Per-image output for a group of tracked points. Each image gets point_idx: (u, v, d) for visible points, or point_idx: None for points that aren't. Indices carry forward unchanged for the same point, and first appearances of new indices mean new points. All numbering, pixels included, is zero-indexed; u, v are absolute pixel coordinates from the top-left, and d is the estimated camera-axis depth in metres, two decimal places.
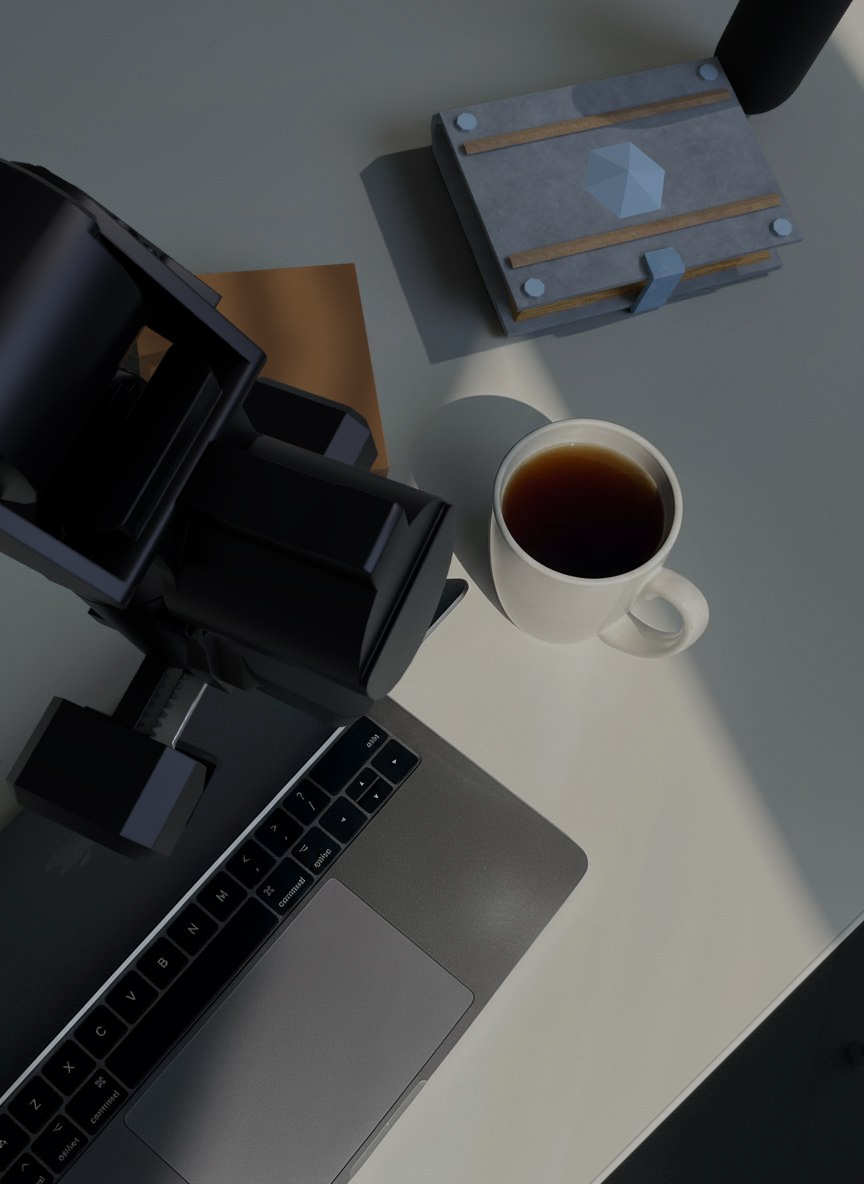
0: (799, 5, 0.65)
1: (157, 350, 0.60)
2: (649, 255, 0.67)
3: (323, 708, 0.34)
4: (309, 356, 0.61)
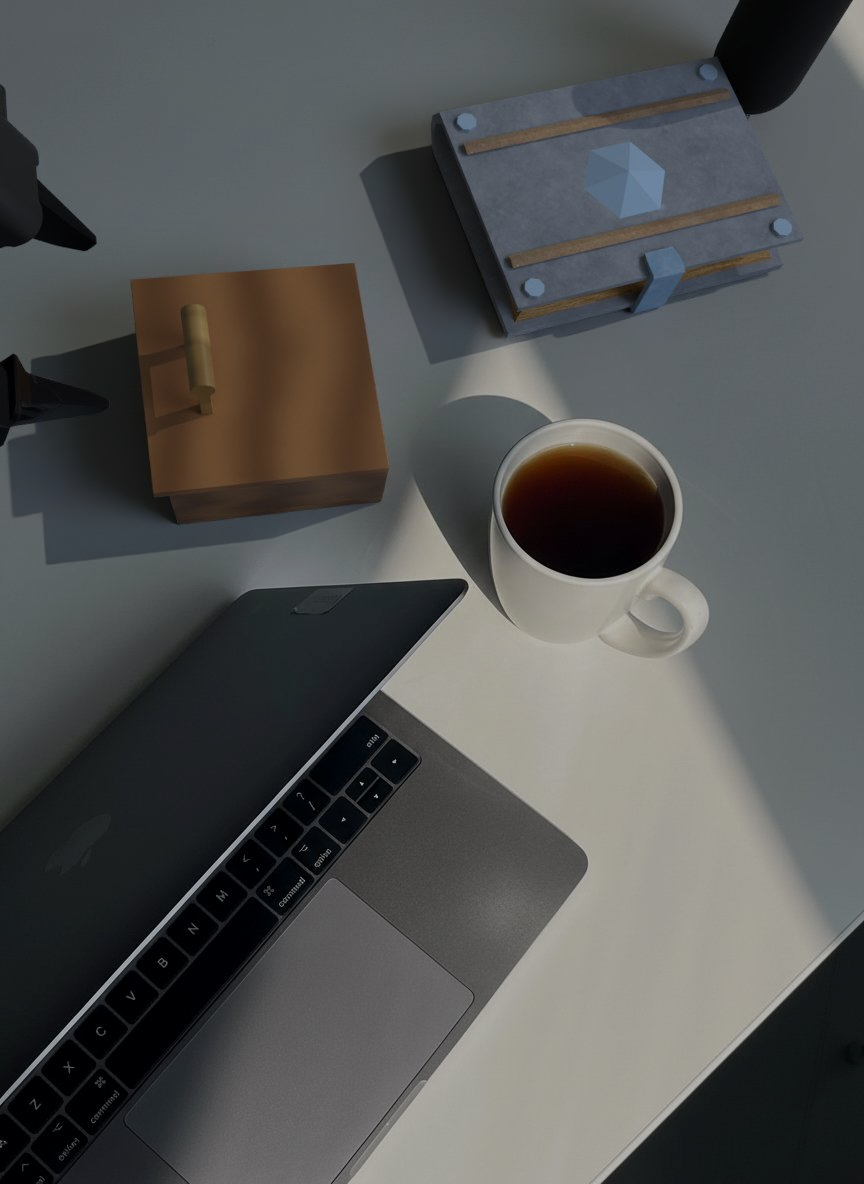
0: (799, 5, 0.65)
1: (157, 350, 0.60)
2: (649, 255, 0.67)
3: None
4: (309, 356, 0.61)
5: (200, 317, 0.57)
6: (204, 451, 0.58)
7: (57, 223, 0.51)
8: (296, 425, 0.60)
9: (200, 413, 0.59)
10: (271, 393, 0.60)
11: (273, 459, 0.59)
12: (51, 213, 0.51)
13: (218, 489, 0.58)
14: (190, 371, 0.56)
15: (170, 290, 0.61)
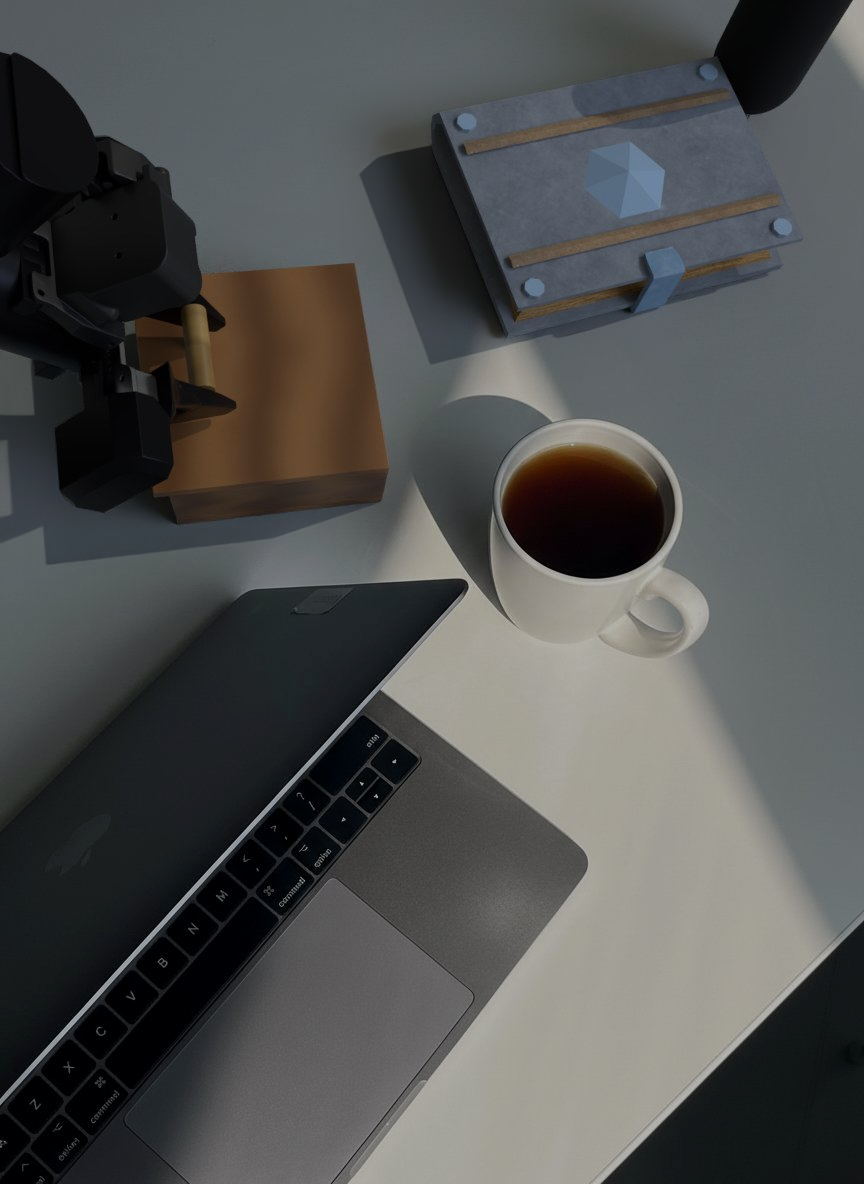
0: (799, 5, 0.65)
1: (157, 350, 0.60)
2: (649, 255, 0.67)
3: (140, 278, 0.45)
4: (309, 356, 0.61)
5: (200, 317, 0.57)
6: (204, 451, 0.58)
7: None
8: (296, 425, 0.60)
9: None
10: (271, 393, 0.60)
11: (273, 459, 0.59)
12: None
13: (218, 489, 0.58)
14: (190, 371, 0.56)
15: None
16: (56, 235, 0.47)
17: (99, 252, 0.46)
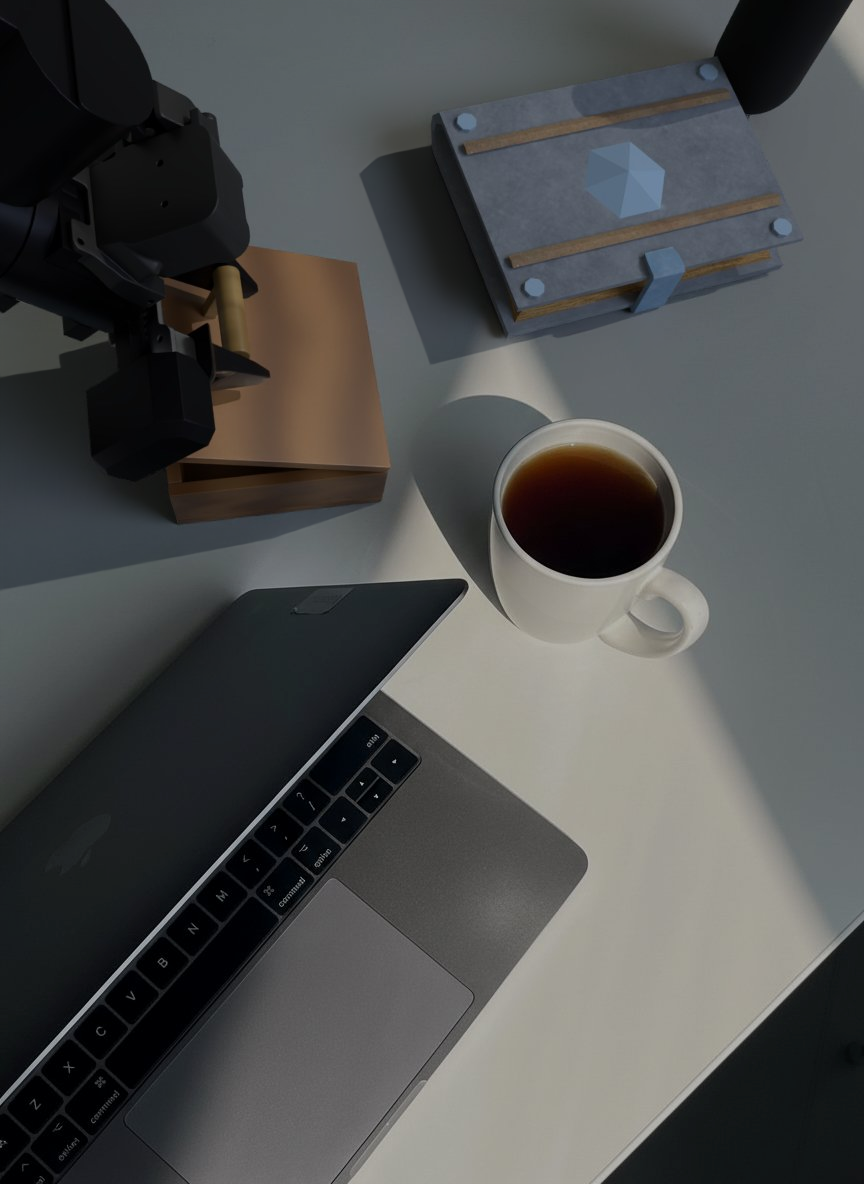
0: (799, 5, 0.65)
1: (165, 307, 0.56)
2: (649, 255, 0.67)
3: (189, 228, 0.42)
4: (316, 344, 0.60)
5: (237, 281, 0.54)
6: None
7: None
8: (305, 410, 0.58)
9: None
10: (280, 373, 0.58)
11: (283, 441, 0.57)
12: (223, 265, 0.54)
13: (226, 463, 0.55)
14: (227, 334, 0.53)
15: None
16: (95, 182, 0.44)
17: (143, 200, 0.43)
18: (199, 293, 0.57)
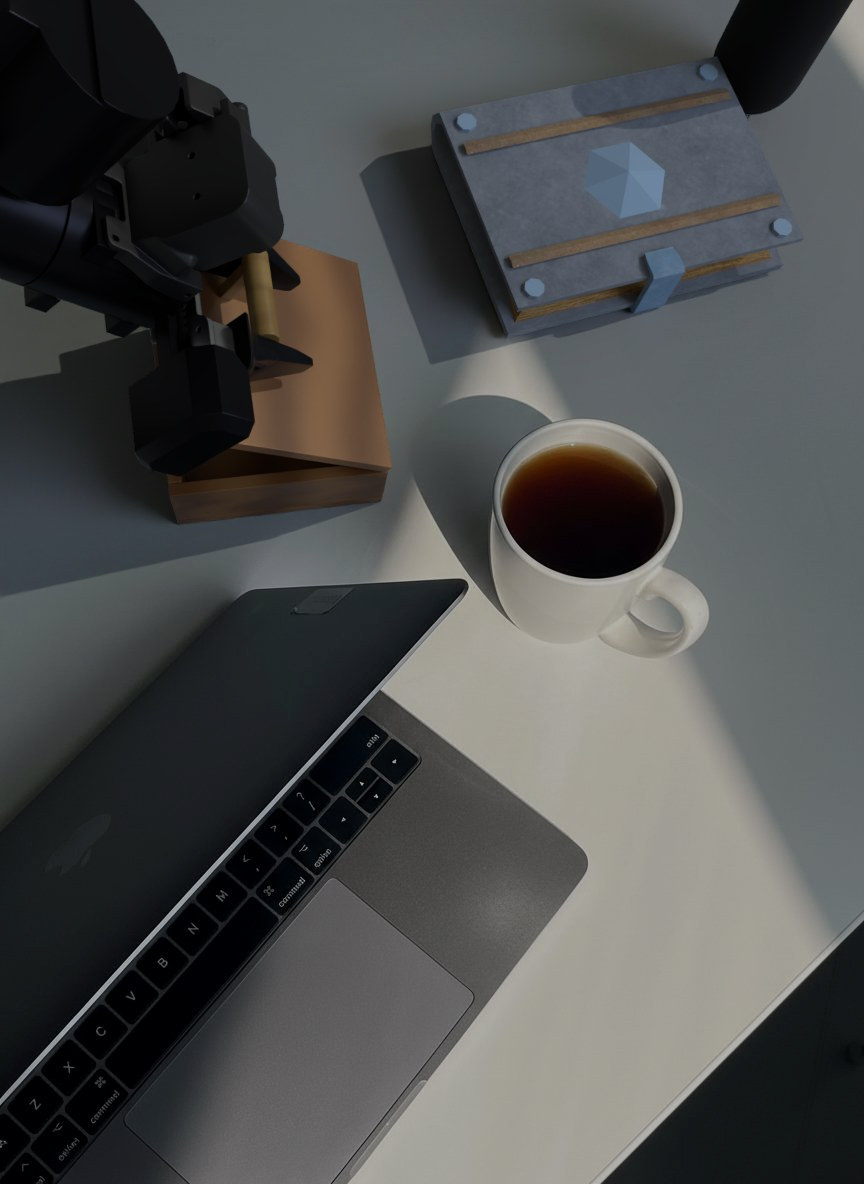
0: (799, 5, 0.65)
1: None
2: (649, 255, 0.67)
3: (221, 219, 0.42)
4: (323, 338, 0.59)
5: (268, 264, 0.53)
6: None
7: None
8: (314, 403, 0.57)
9: None
10: None
11: (295, 431, 0.56)
12: None
13: (241, 448, 0.54)
14: (259, 316, 0.52)
15: None
16: (130, 178, 0.44)
17: (176, 194, 0.43)
18: None
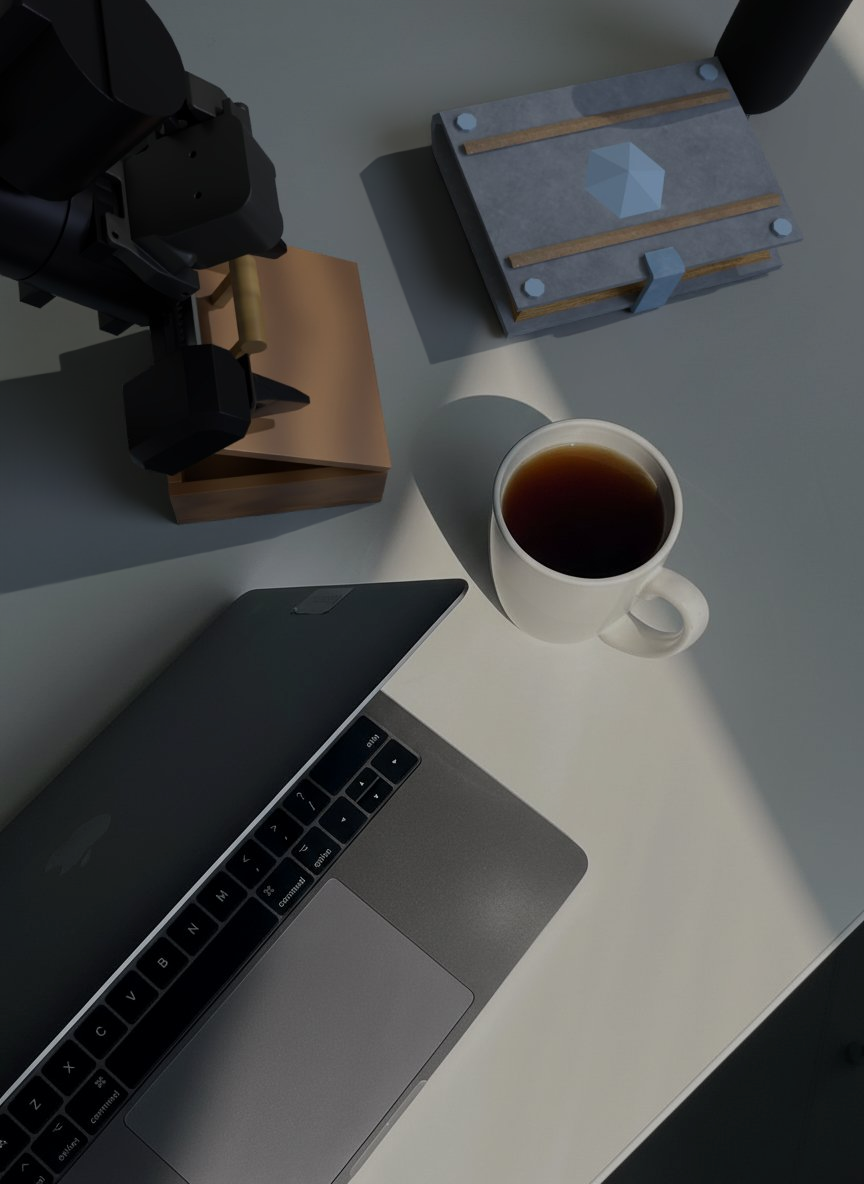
0: (799, 5, 0.65)
1: None
2: (649, 255, 0.67)
3: (222, 218, 0.42)
4: (320, 341, 0.59)
5: (255, 271, 0.53)
6: None
7: None
8: (310, 406, 0.58)
9: None
10: (286, 367, 0.57)
11: (289, 435, 0.56)
12: None
13: (234, 454, 0.54)
14: (246, 323, 0.52)
15: None
16: (129, 175, 0.44)
17: (177, 192, 0.43)
18: (208, 281, 0.56)
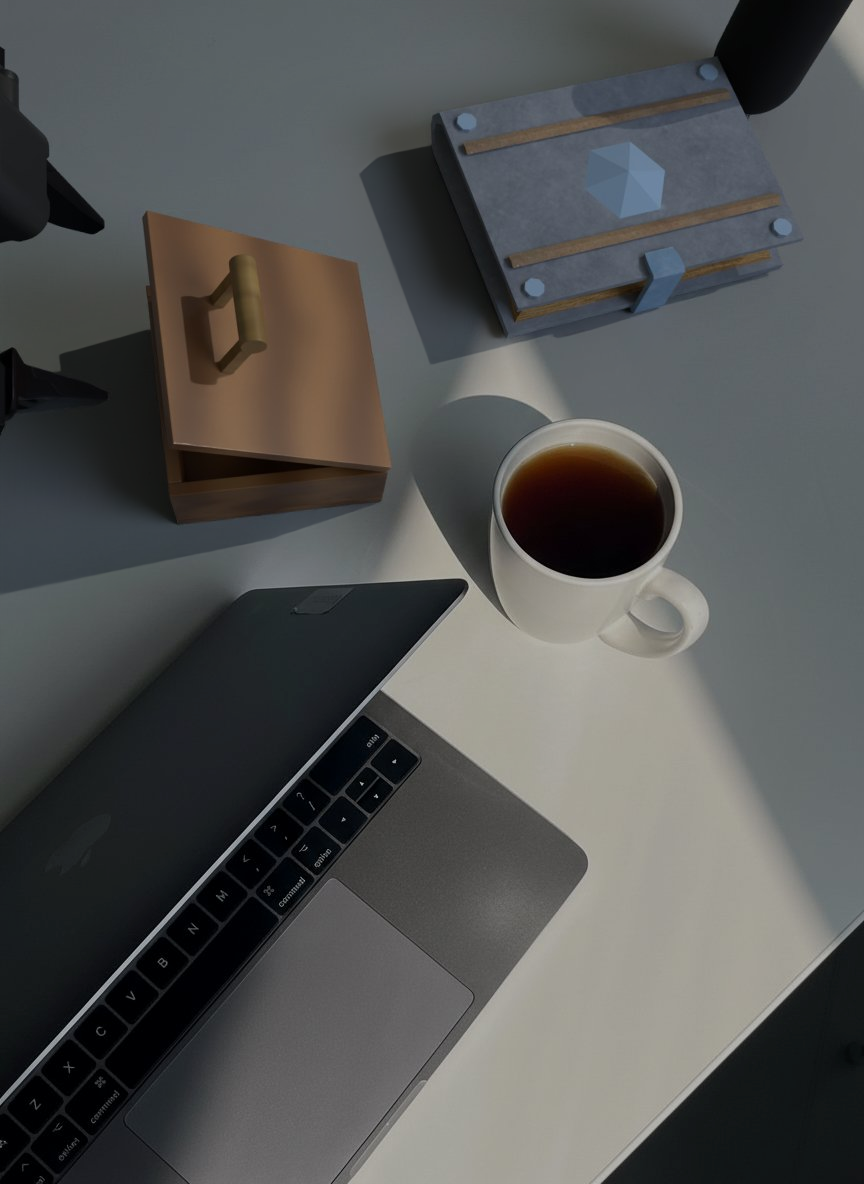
0: (799, 5, 0.65)
1: (175, 293, 0.55)
2: (649, 255, 0.67)
3: None
4: (320, 341, 0.59)
5: (255, 271, 0.53)
6: (224, 411, 0.54)
7: (65, 206, 0.50)
8: (310, 406, 0.58)
9: (219, 370, 0.55)
10: (286, 367, 0.57)
11: (289, 435, 0.56)
12: (59, 196, 0.49)
13: (234, 454, 0.54)
14: (246, 323, 0.52)
15: (188, 235, 0.56)
16: None
17: None
18: (208, 281, 0.56)
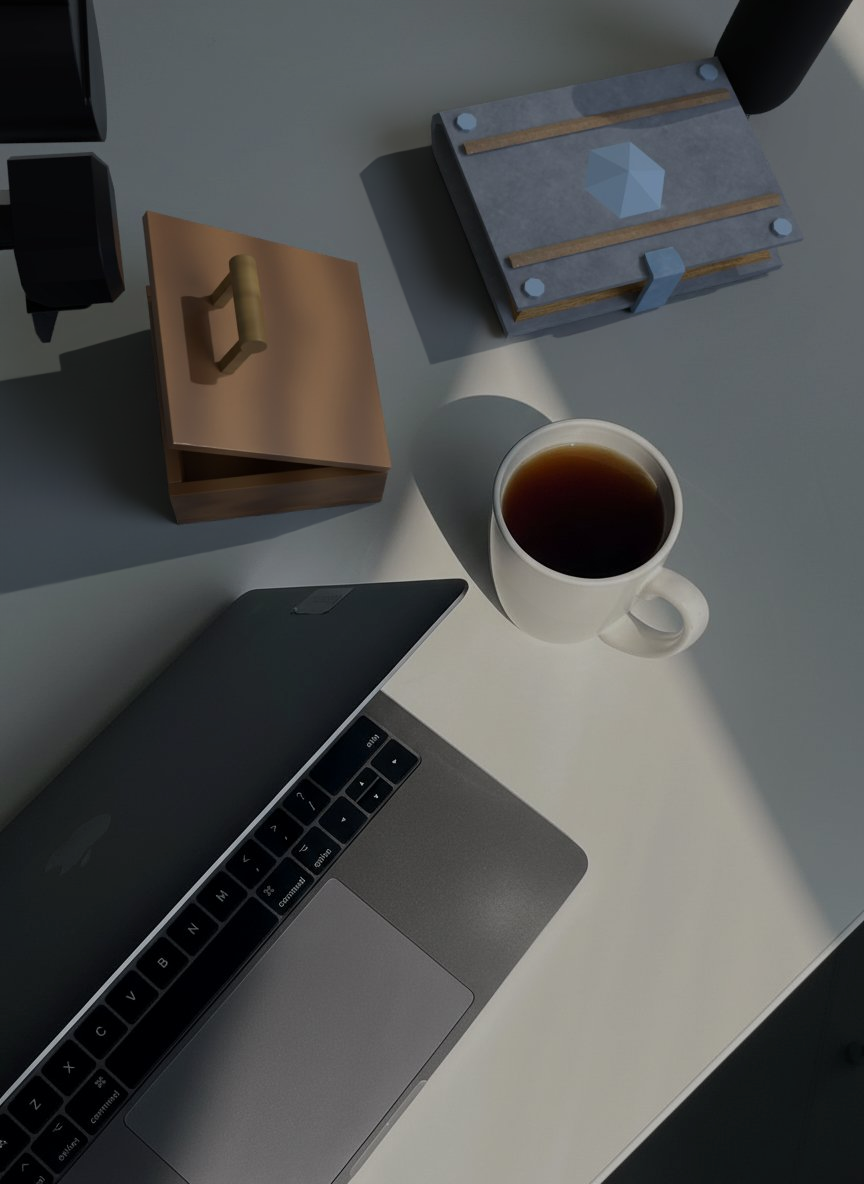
0: (799, 5, 0.65)
1: (175, 293, 0.55)
2: (649, 255, 0.67)
3: None
4: (320, 341, 0.59)
5: (255, 271, 0.53)
6: (224, 411, 0.54)
7: None
8: (310, 406, 0.58)
9: (219, 370, 0.55)
10: (286, 367, 0.57)
11: (289, 435, 0.56)
12: None
13: (234, 454, 0.54)
14: (246, 323, 0.52)
15: (188, 235, 0.56)
16: None
17: None
18: (208, 281, 0.56)
